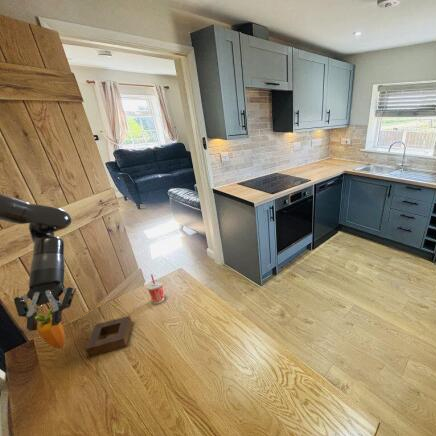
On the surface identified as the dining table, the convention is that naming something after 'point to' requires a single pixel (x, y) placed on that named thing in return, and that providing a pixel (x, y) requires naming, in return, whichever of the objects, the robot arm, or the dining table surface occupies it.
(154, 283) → the beverage cup
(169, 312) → the dining table surface
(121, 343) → the socket block
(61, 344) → the carrot
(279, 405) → the dining table surface
